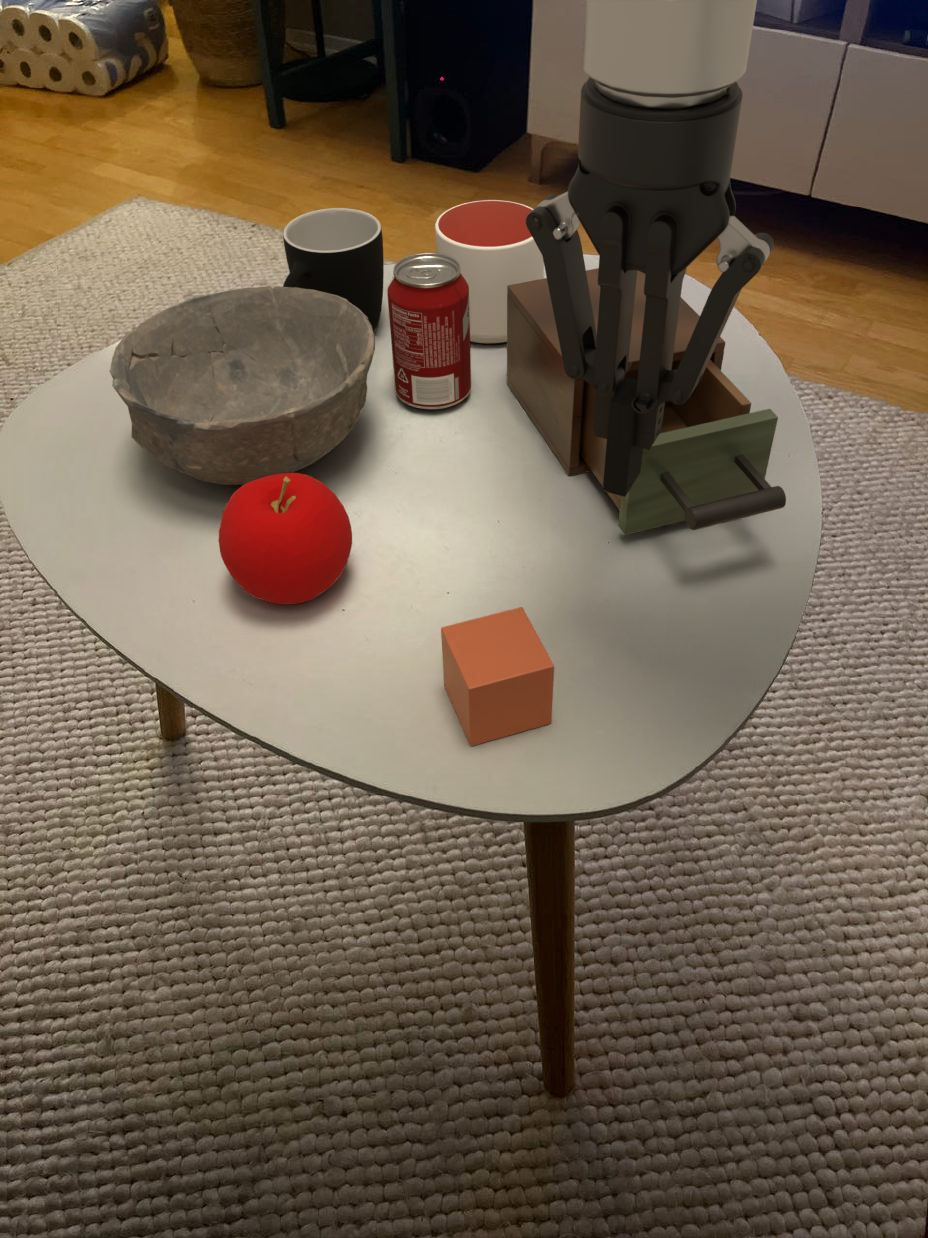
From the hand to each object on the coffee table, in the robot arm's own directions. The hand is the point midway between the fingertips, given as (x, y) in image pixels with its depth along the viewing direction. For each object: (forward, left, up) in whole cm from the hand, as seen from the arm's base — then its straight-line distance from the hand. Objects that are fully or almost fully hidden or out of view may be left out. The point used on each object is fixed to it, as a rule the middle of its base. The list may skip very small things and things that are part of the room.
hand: (621, 481), depth 66 cm
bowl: (+28, +19, -12) cm, 36 cm away
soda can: (+31, +3, -12) cm, 34 cm away
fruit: (+11, +20, -12) cm, 26 cm away
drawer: (+11, -10, -11) cm, 18 cm away
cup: (+41, -6, -12) cm, 43 cm away
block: (-5, +10, -12) cm, 16 cm away
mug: (+44, +9, -12) cm, 47 cm away
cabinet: (+23, -10, -12) cm, 28 cm away
